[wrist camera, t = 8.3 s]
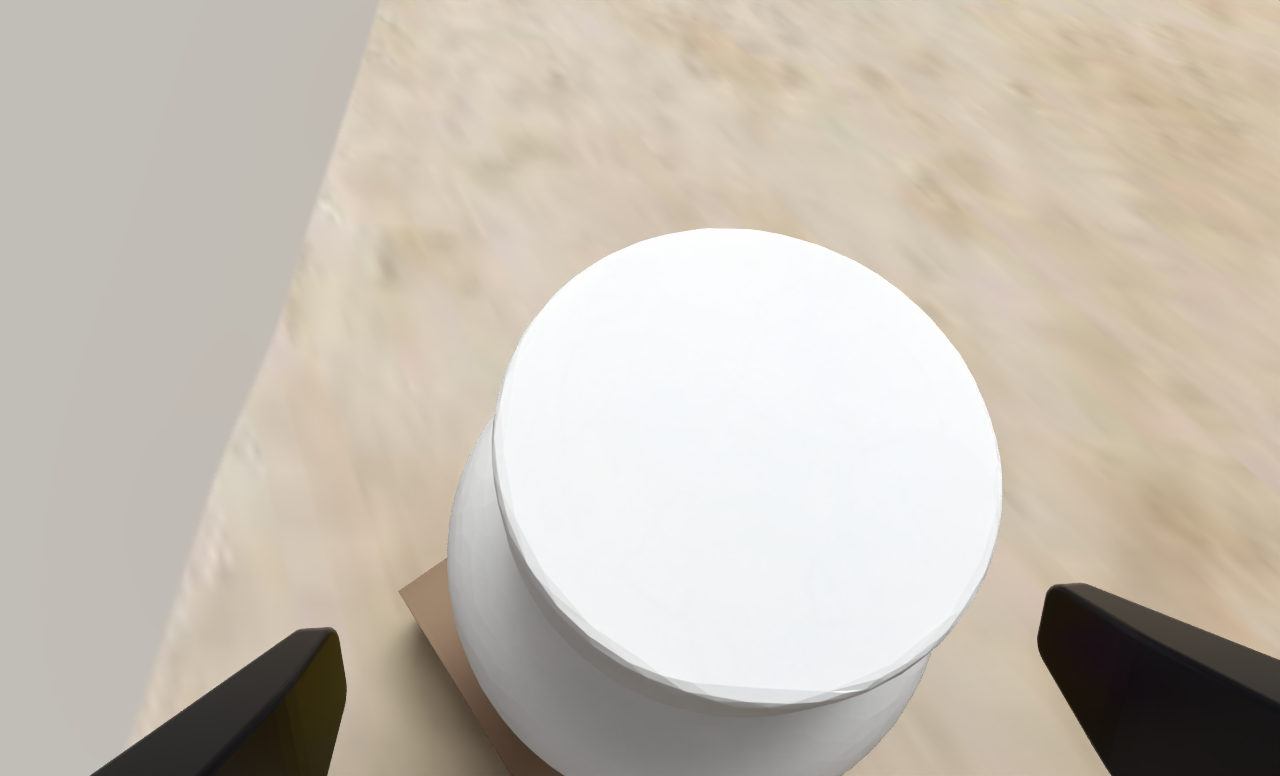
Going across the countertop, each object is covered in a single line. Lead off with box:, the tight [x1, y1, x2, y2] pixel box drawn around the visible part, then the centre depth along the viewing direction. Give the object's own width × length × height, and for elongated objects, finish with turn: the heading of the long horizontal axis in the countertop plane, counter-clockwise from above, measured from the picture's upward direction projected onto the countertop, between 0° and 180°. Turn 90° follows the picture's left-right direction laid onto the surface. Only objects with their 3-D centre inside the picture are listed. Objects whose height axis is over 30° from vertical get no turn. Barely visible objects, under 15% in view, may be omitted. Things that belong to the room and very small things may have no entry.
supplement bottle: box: [447, 228, 1002, 776], centre depth 12 cm, size 7×7×13 cm
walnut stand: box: [398, 558, 564, 776], centre depth 19 cm, size 9×9×3 cm
